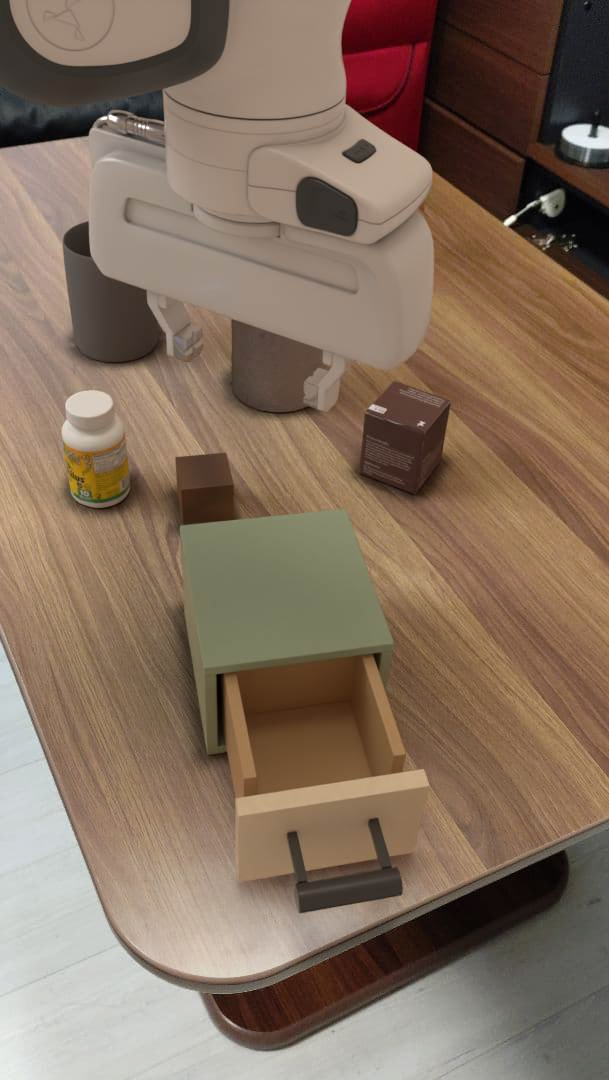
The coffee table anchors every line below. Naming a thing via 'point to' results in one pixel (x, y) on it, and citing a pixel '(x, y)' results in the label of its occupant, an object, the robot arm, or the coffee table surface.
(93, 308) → the mug
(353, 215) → the robot arm
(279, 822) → the drawer
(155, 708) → the coffee table surface
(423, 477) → the box
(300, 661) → the cabinet
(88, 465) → the supplement bottle
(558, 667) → the coffee table surface
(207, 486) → the block
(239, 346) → the pillar candle
